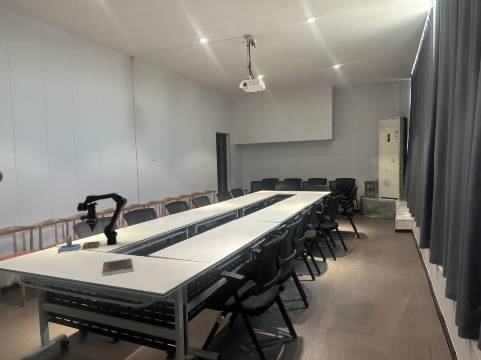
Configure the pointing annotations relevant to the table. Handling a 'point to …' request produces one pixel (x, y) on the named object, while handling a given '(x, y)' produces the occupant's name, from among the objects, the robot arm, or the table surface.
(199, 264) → the table surface
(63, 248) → the tray
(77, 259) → the table surface
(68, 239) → the pin
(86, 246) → the socket block
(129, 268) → the picture frame
